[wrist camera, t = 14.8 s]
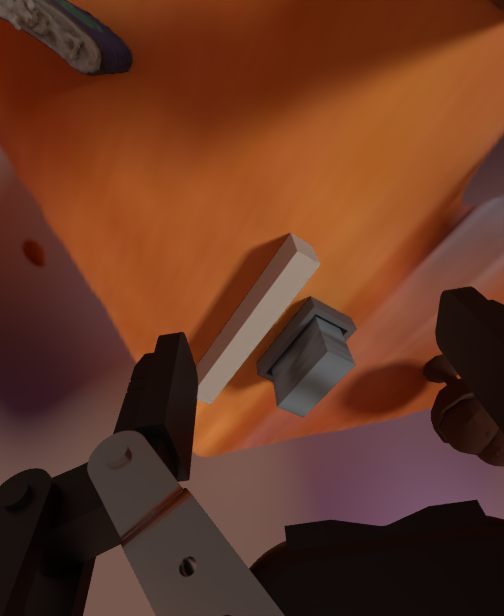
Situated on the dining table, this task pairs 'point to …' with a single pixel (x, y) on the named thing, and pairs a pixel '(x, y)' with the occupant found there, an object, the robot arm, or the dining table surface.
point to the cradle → (296, 327)
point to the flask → (70, 34)
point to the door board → (256, 315)
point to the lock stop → (311, 366)
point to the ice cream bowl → (463, 416)
